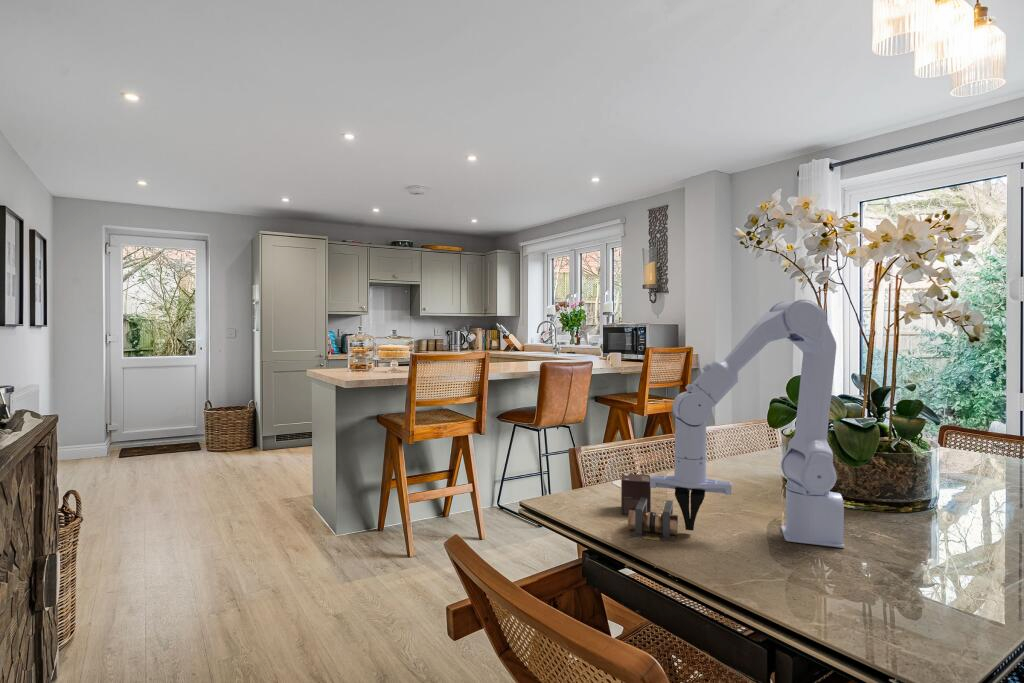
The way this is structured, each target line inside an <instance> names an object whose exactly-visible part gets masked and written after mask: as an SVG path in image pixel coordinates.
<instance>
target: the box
mask: <svg viewBox="0 0 1024 683" xmlns="http://www.w3.org/2000/svg"><path fill="white" fill-rule="evenodd" d="M650 477H651V475H650V474H641V473H640V474H639V473H638V474H635V473H621V490H620V491H621V494H620V495H621V497H620V498H621V500H620V501H621V504H620V505H621V506H620V507H621V509H620V510H621V514H622V515H626V516H628V514H629V510H635V509H636V507H637V504H638V502H639V500H640V498H647V512H652V510H651V509H652V508H651V506H652V505H651V503H652V502H651V499H652V497H651V496H652V495H651V494H652V491H651V490H652V488H650Z"/></svg>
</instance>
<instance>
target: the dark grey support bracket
mask: <svg viewBox="0 0 1024 683" xmlns="http://www.w3.org/2000/svg"><path fill="white" fill-rule="evenodd" d="M662 513H663V533H662V534H661V533H658V534H657V536H656V537H657V538H660V541H661V540H662V541H670V542H675V540H676V535H675V536H674V535H671V534H670V514H673V515H674V500H670V499H669V500H668V499H666V500H665V504H664V507H663V510H662Z"/></svg>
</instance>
